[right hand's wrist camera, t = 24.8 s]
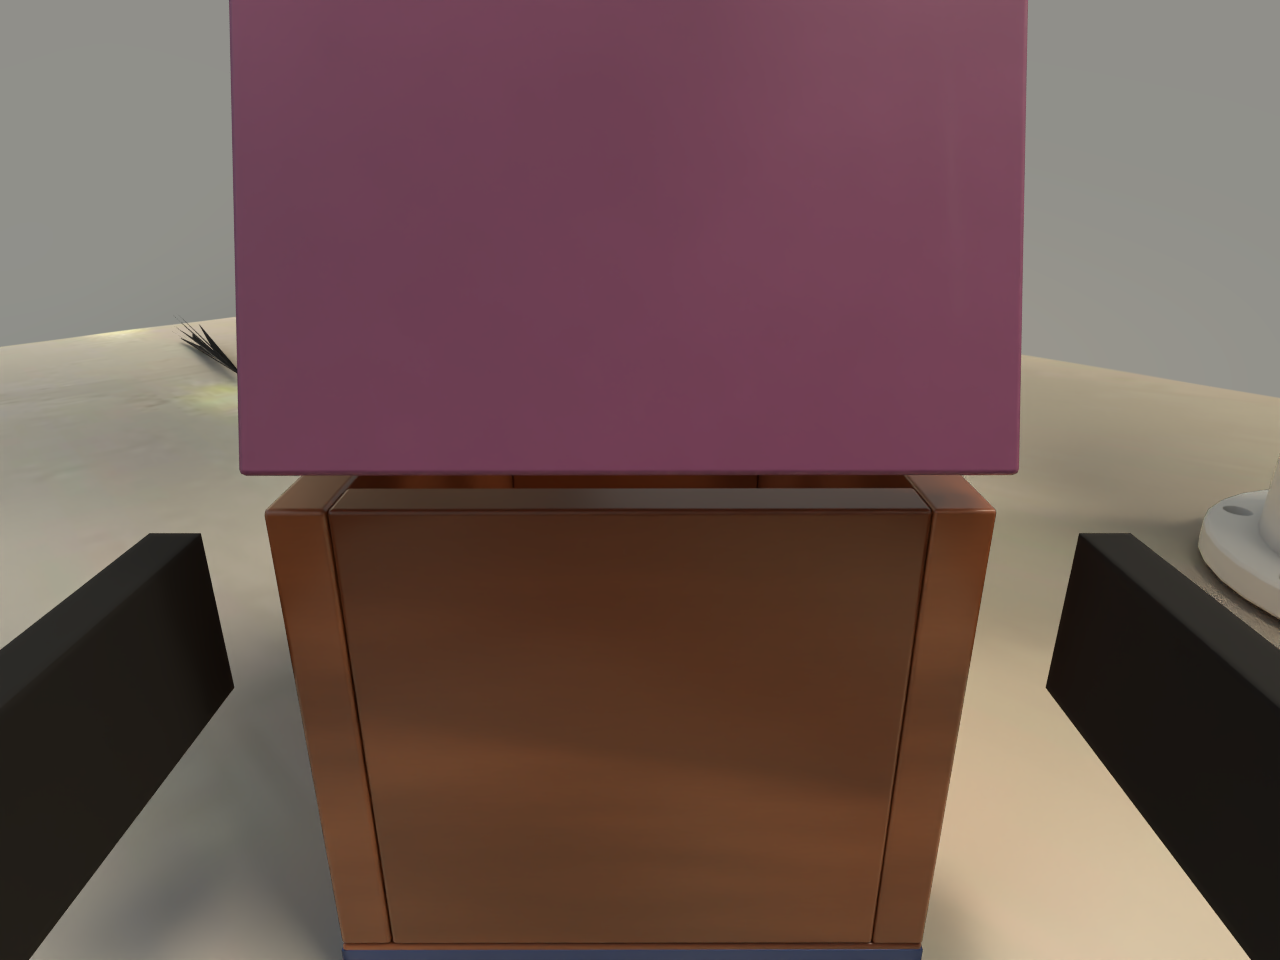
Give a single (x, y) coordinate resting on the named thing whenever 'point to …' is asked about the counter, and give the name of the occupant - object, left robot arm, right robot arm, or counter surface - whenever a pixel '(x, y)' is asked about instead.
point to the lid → (628, 236)
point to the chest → (631, 708)
